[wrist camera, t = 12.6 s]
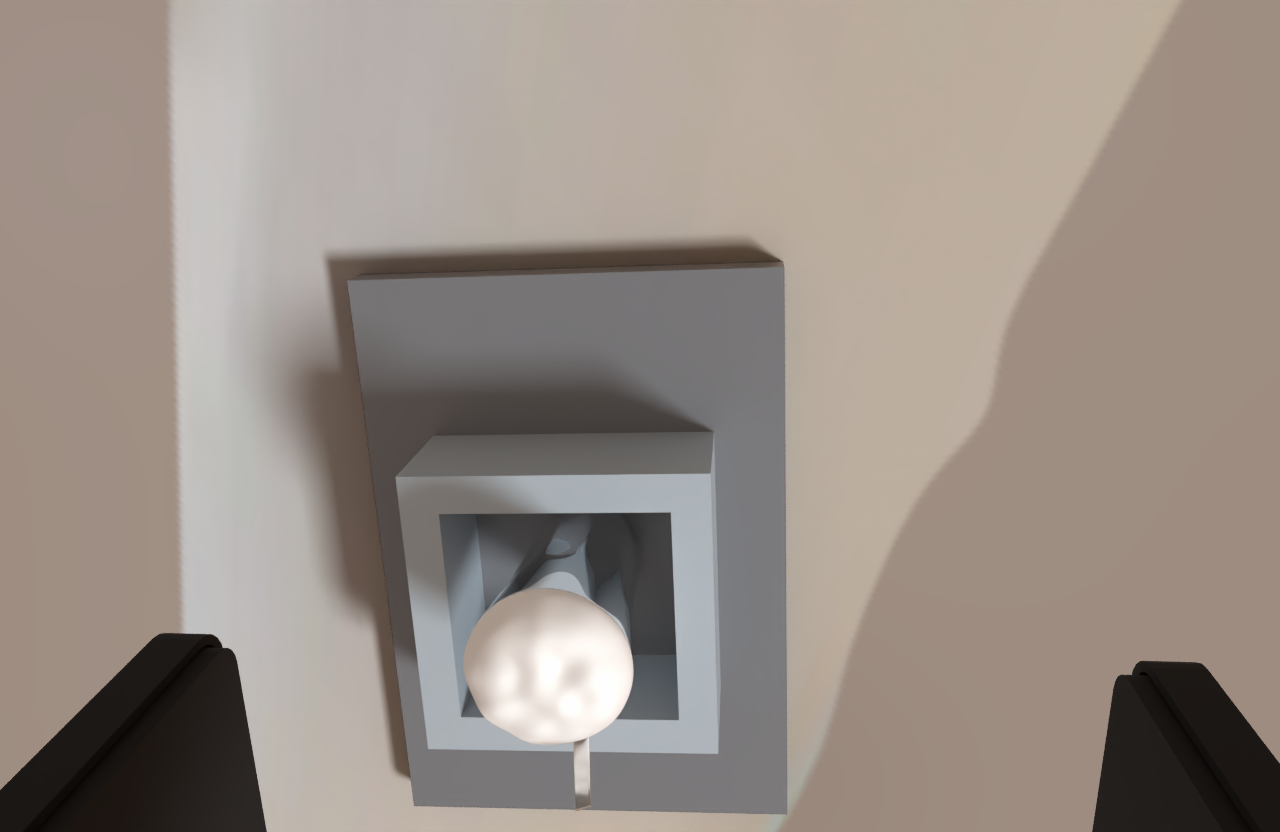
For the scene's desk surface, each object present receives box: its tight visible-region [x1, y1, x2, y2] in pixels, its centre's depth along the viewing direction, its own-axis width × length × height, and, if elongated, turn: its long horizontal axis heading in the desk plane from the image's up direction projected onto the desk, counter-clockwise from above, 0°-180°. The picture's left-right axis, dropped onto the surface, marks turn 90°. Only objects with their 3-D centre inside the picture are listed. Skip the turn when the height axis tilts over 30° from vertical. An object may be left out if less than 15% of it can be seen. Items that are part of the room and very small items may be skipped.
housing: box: [347, 261, 787, 814], centre depth 34 cm, size 20×14×5 cm
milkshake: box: [463, 513, 638, 811], centre depth 31 cm, size 4×5×10 cm
